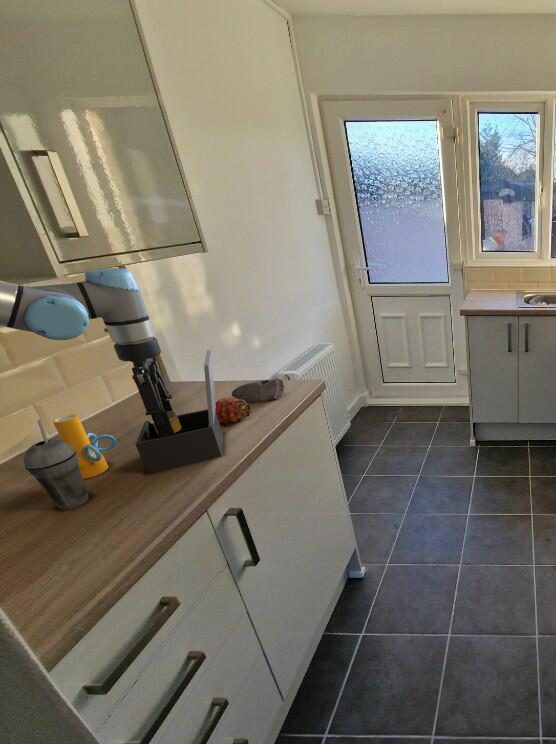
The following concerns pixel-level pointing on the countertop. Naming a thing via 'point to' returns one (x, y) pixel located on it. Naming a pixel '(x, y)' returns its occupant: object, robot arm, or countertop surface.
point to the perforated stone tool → (260, 391)
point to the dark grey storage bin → (180, 443)
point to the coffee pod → (171, 421)
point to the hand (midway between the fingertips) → (169, 430)
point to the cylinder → (83, 445)
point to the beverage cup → (57, 471)
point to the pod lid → (210, 387)
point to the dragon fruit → (231, 410)
